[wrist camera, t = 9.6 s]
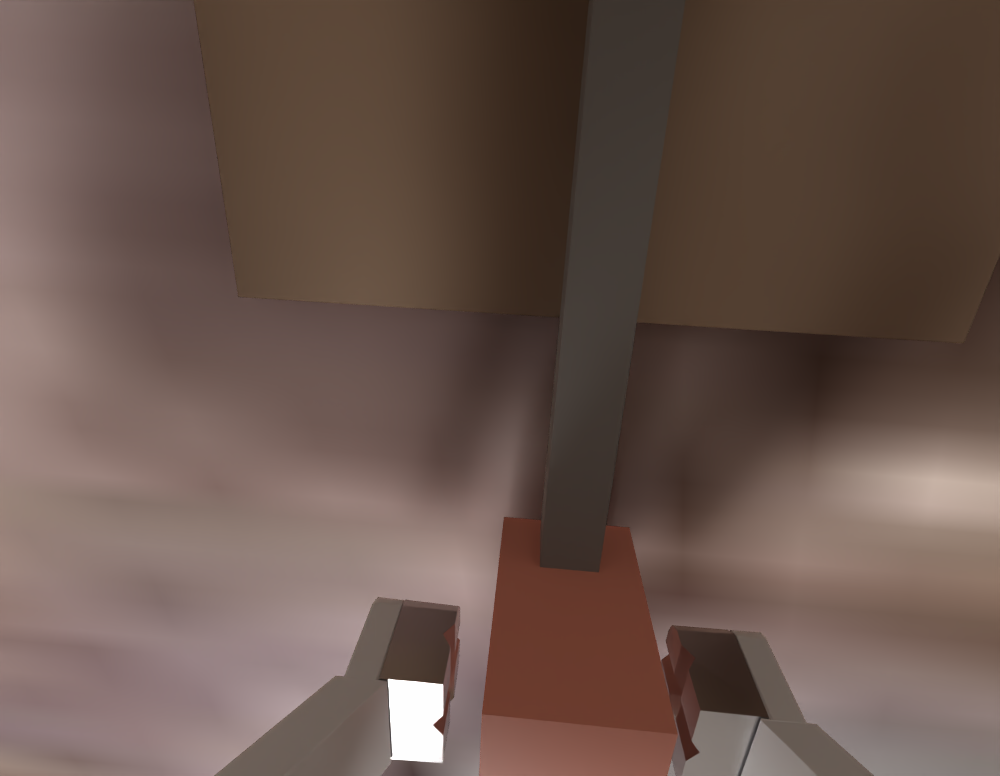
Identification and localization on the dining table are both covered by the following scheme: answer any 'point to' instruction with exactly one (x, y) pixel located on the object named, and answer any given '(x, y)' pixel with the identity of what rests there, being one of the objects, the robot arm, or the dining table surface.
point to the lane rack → (551, 150)
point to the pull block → (590, 451)
